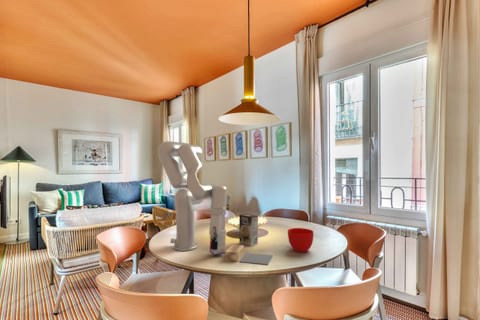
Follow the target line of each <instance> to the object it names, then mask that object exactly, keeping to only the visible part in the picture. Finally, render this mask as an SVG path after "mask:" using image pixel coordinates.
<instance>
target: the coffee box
mask: <svg viewBox="0 0 480 320" xmlns="http://www.w3.org/2000/svg"><path fill="white" fill-rule="evenodd" d="M238 217H239V218H238V219H239V220H238V224H239V227H238V228H239V229H238V231H239V235H238V236H239V240H238V241H239V242H238V243H239V244H241V245H244V246H249V247H253V246H256V245H258V244H259V215H257V214H251V213H250V214H249V213H242V214H241V213H240V214H239V216H238Z"/></svg>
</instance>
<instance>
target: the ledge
mask: <svg viewBox="0 0 480 320" xmlns="http://www.w3.org/2000/svg"><path fill="white" fill-rule="evenodd" d="M224 254H225V255H224V257H225V258H224V260H225V261H228V262H240V260H241V259H242V258H243V256H244V255H245V245H243V244H241V245H239V244H232V245H231V246H229V248H227V249H225V253H224Z"/></svg>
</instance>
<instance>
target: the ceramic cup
mask: <svg viewBox="0 0 480 320" xmlns="http://www.w3.org/2000/svg"><path fill="white" fill-rule="evenodd" d="M287 238H288V243H289V244H290V247H291V248H292V249H293V250H294V252H297V253H307V252H308V251H309V250H310V249H311V247H312V245H313V243H314V231H313V230H312V229H309V228H303V227H294V228H289V229H288V230H287Z"/></svg>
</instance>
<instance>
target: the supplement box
mask: <svg viewBox="0 0 480 320" xmlns="http://www.w3.org/2000/svg"><path fill="white" fill-rule="evenodd" d="M226 233H227V230H226V229H225V230H224V229H223V230H222V231H221V234H220V235H219V236H218V239H217V241H218V249H217V250H213V249H211V236H209V237H210V238H209V251H208V252H209V254H210V253H211V254H212V255H214V256H218V255H219V256H220V255H224V254H225V251H226V235H227V234H226ZM214 234H216V235H217V233H216V231H215V233H214ZM214 237H215V238H216V236H214Z"/></svg>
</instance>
